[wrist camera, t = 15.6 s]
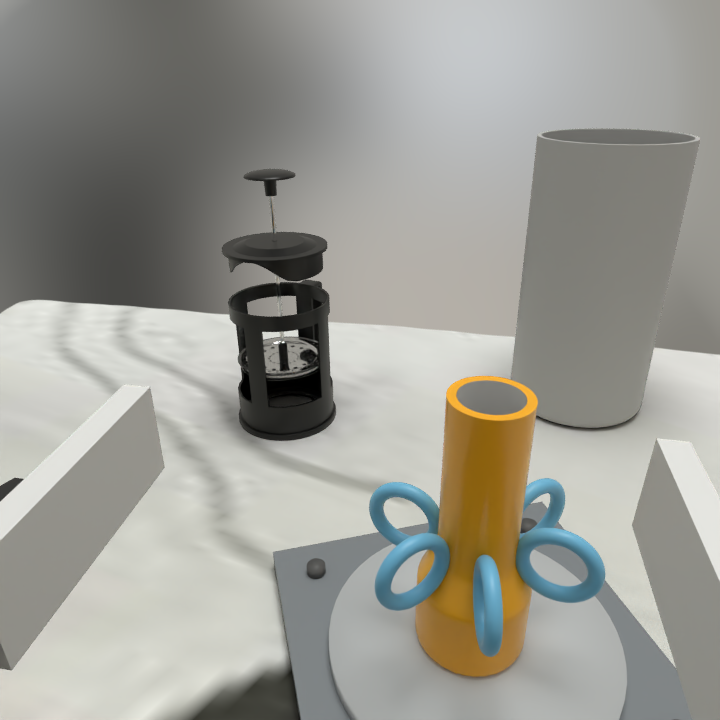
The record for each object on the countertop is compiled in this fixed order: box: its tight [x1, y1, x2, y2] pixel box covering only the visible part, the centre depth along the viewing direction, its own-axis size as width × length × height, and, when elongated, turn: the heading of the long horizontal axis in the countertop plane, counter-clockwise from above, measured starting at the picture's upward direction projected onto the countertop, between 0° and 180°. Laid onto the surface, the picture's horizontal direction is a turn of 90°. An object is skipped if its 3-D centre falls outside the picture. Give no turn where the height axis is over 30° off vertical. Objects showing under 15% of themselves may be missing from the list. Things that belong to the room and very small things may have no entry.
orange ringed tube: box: [369, 376, 605, 677], centre depth 30 cm, size 12×10×15 cm
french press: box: [222, 169, 336, 440], centre depth 54 cm, size 12×9×23 cm
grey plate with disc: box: [273, 502, 692, 720], centre depth 34 cm, size 20×20×2 cm
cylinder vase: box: [511, 128, 700, 428], centre depth 56 cm, size 12×12×25 cm
